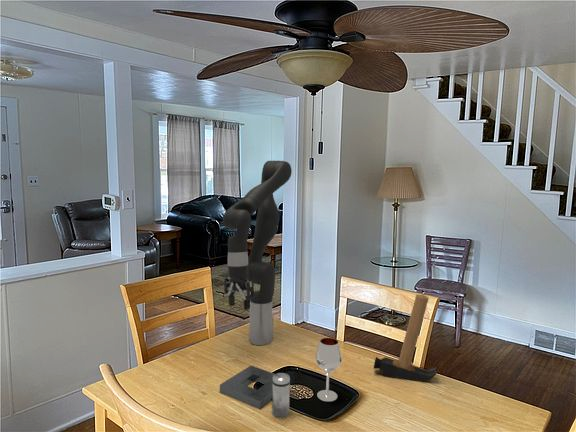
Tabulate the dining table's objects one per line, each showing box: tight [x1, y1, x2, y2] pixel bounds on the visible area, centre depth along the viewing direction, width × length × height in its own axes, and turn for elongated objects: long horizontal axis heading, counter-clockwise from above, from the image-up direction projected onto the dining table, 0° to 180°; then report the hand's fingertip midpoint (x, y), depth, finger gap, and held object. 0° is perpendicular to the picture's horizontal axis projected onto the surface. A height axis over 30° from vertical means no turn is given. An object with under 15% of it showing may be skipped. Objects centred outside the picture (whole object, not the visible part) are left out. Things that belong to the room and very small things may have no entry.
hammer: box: [373, 294, 437, 383], centre depth 143 cm, size 20×5×30 cm, turn 76°
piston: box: [271, 372, 291, 419], centre depth 121 cm, size 5×5×11 cm
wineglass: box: [315, 337, 343, 402], centre depth 130 cm, size 8×8×18 cm
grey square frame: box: [219, 365, 276, 410], centre depth 134 cm, size 16×16×2 cm
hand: (239, 307), depth 153 cm, fingers open, 8 cm apart
